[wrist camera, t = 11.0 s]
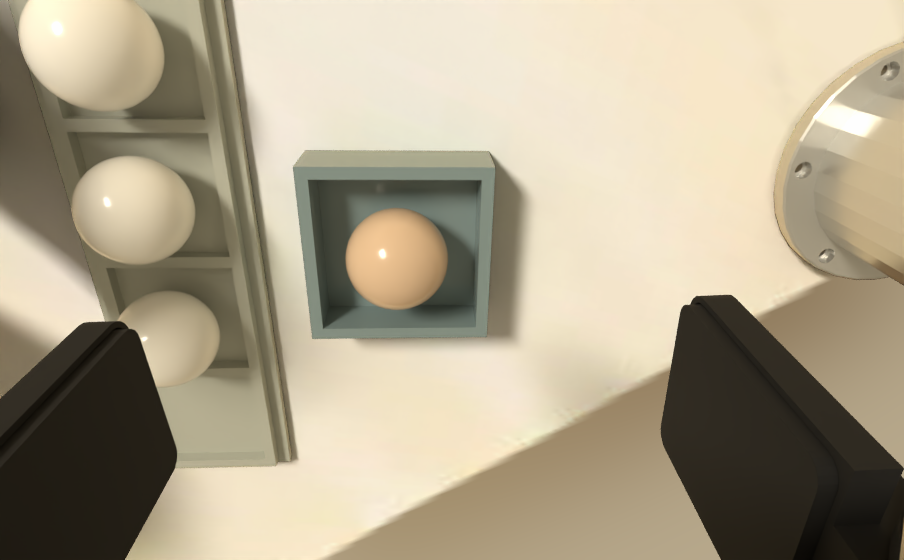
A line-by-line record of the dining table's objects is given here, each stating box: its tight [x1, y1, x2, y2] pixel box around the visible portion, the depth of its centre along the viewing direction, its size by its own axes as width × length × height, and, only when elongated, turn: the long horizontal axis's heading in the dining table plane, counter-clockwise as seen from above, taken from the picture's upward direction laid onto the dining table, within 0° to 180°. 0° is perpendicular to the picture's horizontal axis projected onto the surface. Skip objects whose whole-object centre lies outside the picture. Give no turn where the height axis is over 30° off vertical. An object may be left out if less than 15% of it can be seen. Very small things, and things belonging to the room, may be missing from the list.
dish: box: [293, 150, 495, 339], centre depth 29 cm, size 9×9×3 cm
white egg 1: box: [18, 0, 164, 112], centre depth 23 cm, size 5×5×5 cm
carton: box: [8, 0, 292, 468], centre depth 30 cm, size 9×29×1 cm, turn 179°
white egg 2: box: [71, 156, 195, 265], centre depth 26 cm, size 5×5×5 cm
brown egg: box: [345, 208, 448, 310], centre depth 28 cm, size 5×5×5 cm
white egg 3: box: [117, 290, 220, 388], centre depth 29 cm, size 5×5×5 cm
